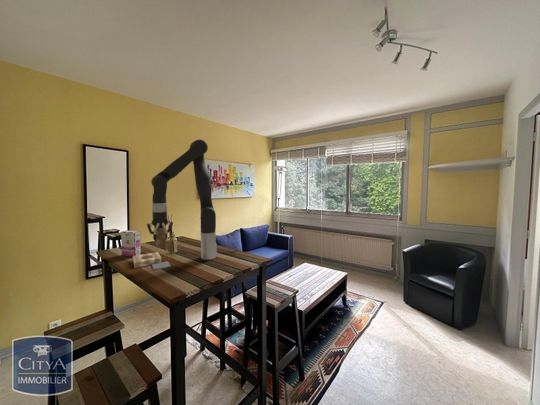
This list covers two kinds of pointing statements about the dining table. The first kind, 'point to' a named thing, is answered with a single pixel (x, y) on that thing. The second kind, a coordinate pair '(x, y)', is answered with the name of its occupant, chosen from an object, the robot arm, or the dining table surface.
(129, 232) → the candy bar box
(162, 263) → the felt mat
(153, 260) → the pocket frame
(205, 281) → the dining table surface
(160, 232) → the walnut block
